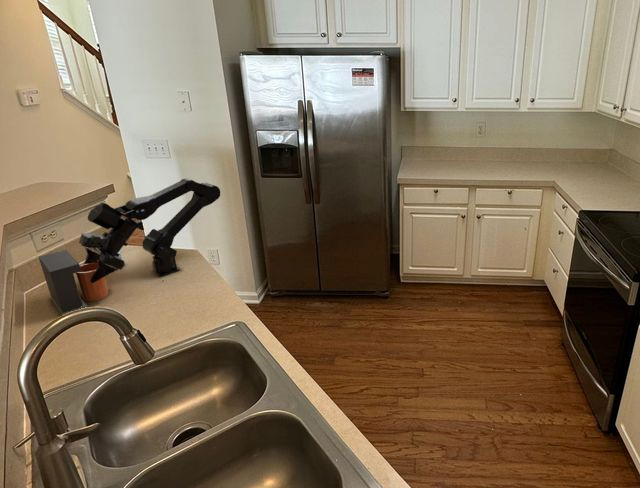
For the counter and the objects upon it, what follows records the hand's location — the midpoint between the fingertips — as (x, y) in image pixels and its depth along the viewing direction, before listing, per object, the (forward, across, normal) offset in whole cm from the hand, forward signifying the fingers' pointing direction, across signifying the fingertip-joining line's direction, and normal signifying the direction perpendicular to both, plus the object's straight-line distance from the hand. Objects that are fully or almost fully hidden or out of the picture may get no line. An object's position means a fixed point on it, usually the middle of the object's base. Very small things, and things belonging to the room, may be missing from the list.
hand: (86, 277), depth 135 cm
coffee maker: (+9, 0, +1) cm, 9 cm away
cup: (+4, 0, +6) cm, 7 cm away
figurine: (-3, -18, +13) cm, 22 cm away
